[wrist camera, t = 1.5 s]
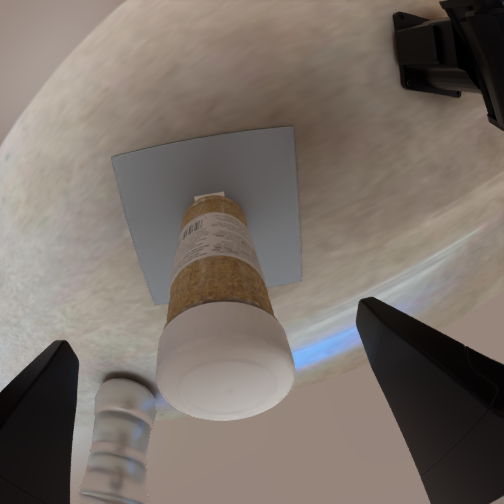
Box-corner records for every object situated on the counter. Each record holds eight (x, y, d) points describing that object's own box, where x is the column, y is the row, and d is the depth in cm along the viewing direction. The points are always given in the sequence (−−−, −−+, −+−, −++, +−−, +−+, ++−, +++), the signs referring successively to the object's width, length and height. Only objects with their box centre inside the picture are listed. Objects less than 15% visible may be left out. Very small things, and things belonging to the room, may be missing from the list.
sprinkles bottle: (206, 264, 22) (212, 435, 10) (168, 216, 19) (123, 380, 8) (259, 231, 21) (319, 392, 9) (224, 179, 19) (252, 316, 7)
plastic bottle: (150, 409, 30) (147, 564, 13) (96, 392, 28) (74, 548, 10) (164, 381, 28) (163, 567, 10) (103, 361, 26) (72, 550, 8)
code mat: (292, 126, 18) (293, 126, 18) (301, 279, 24) (301, 281, 24) (112, 156, 17) (111, 157, 17) (155, 303, 23) (154, 305, 23)
